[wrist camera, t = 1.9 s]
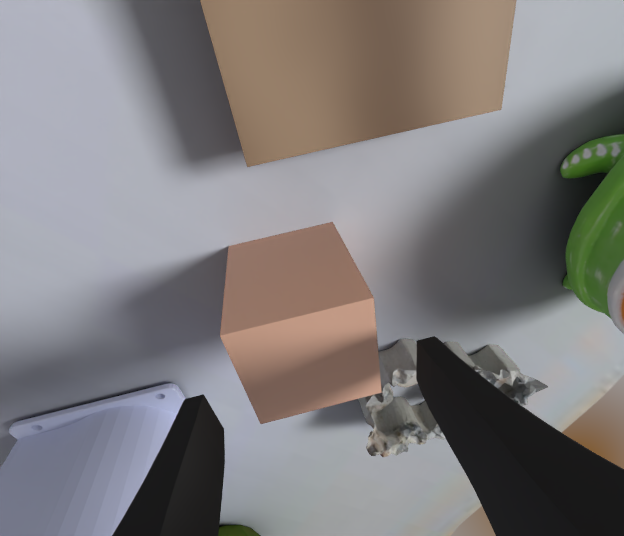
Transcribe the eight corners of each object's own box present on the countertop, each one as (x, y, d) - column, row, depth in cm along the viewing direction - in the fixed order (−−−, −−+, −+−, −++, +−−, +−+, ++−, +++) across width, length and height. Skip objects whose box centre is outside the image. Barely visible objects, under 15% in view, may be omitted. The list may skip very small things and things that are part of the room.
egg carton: (344, 402, 24) (360, 460, 20) (385, 324, 20) (414, 379, 17) (462, 409, 27) (494, 459, 23) (517, 342, 23) (563, 391, 20)
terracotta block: (256, 323, 18) (260, 424, 13) (228, 245, 15) (219, 335, 10) (344, 301, 18) (381, 392, 13) (332, 221, 15) (373, 297, 10)
